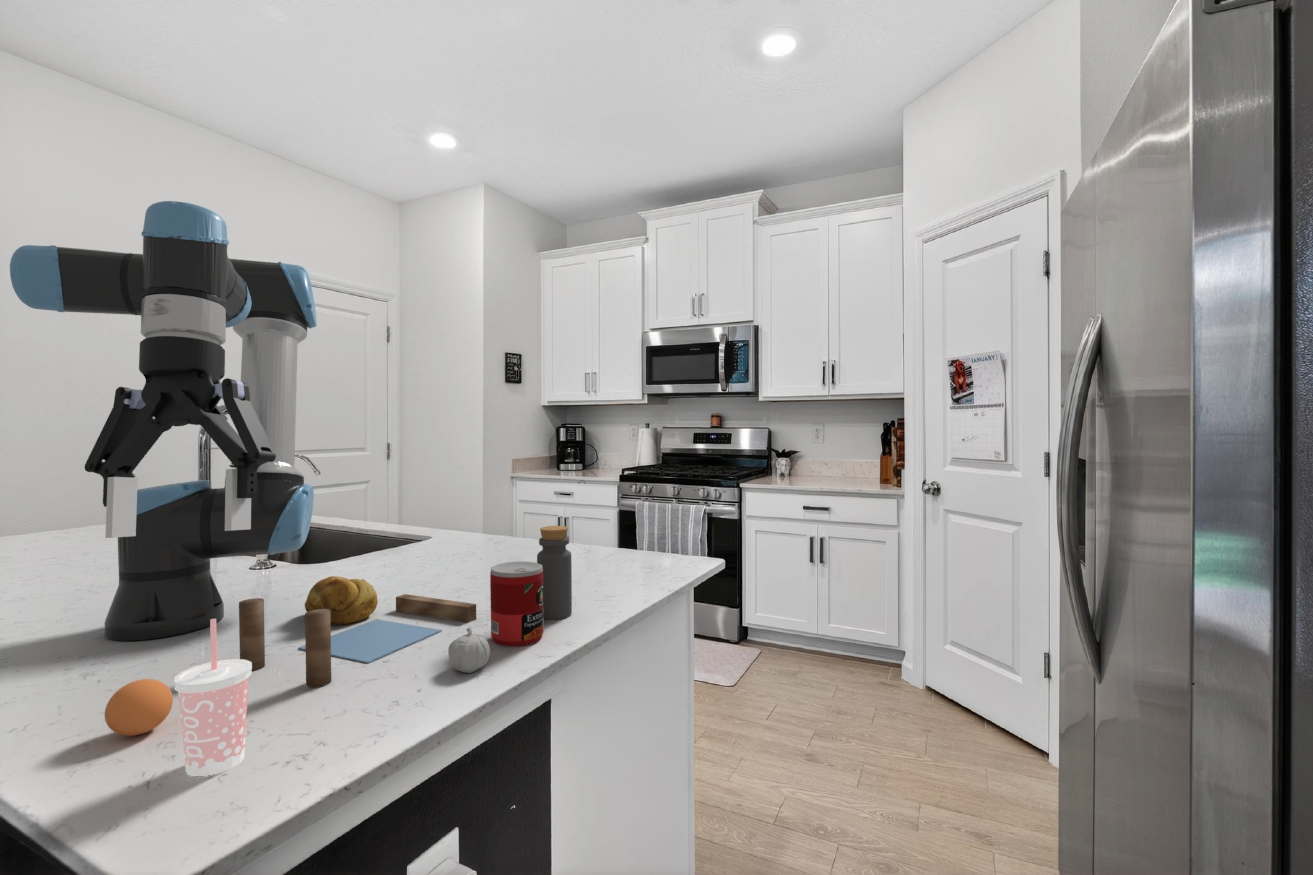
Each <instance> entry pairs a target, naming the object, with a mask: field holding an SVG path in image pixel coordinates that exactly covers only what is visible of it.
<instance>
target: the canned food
mask: <svg viewBox="0 0 1313 875" xmlns="http://www.w3.org/2000/svg"><path fill="white" fill-rule="evenodd" d="M489 574H490V575H489V576H490V577H489V578H490V580H489V584H490V585H489V587H490V588H489V590H490V636H491V639H492V642H493V643H494V644H496V645H498V646H502V647H510V648H512V647H513V648H514V647H515V648H516V647H524V646H529V645H533V644H535V643H537V642H538V641H540V640H541V639H542V637H543V633H544V619H543V568H542V565H541V564H538V563H537V562H534V561H509V562H501V563H498V564H495V565H493V566H491V568H490V573H489Z"/></svg>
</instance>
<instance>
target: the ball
mask: <svg viewBox="0 0 1313 875" xmlns="http://www.w3.org/2000/svg"><path fill="white" fill-rule="evenodd" d="M173 703H174V698H173V694H172V691H171V689H170V688H169V686H168V685H167V684H165V682H162V681H160V680H158V679H153V678H152V679H151V678H144V679H142V678H141V679H139V680H138V679H137V680H134V681H131V682H129V683H127V684H125V685H124V686H122V687H121V688H119V689H118V690H116V692H115V693H114V694H112V696H111V697H110V698H109V700H108V702H107V704H106V707H105V709H104V721H105V723H106V725H107V726H108V728H109V729H110V730H111V731H113V732H114V733H116V734H118V735H120V736H128V737H130V736H131V737H133V736H139V735H143V734H145V733H146V734H147V733H148V732H150V731H152V730H154V729H156V728H157V727H159V726H160V725H161V724H162V723H163V722H164V721H165V720H166V718H167V717H168V715H169V714H170V712H171V710H172V708H173Z"/></svg>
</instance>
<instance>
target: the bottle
mask: <svg viewBox="0 0 1313 875" xmlns="http://www.w3.org/2000/svg"><path fill="white" fill-rule="evenodd" d="M568 529H569V527H567V526H564V525H547V526H542V527H540V529H539V530H540V536H541V537H540V538H539V539H538V544H539V545H540V546H541V547H542V549H541V551H538V553H537V554H536V563H538V564H541V565H542V568H543V620H547V621H548V620H549V621H551V620H562V619H566V618H568V617H570V616H571V615H572V613H573V612H572V611H573V608H572V607H573V599H572V598H573V596H572V594H573V592H572V591H573V590H572V588H573V586H572V583H573V581H572V552H571V551H569V550H568V549H567V545H569V543H570V538H569V536H567V535H568Z"/></svg>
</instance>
